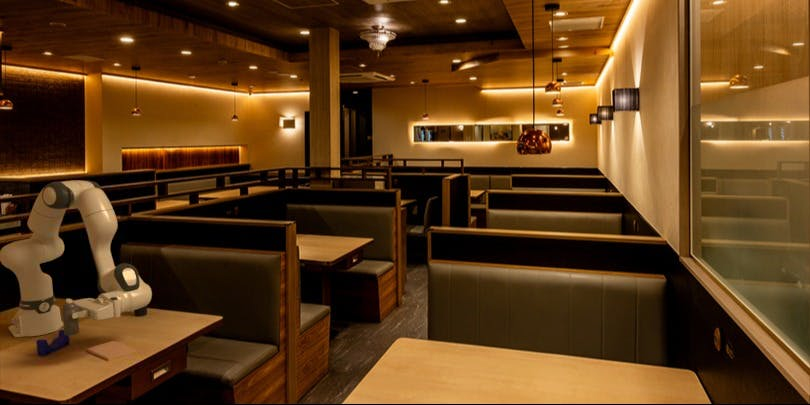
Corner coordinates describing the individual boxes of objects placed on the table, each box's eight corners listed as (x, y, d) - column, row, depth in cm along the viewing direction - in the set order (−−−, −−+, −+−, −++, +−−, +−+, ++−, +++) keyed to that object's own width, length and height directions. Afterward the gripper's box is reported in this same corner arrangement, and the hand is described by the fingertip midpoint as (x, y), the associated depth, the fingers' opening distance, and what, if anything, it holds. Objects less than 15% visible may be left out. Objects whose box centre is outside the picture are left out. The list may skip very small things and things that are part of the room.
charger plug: (61, 333, 197) (58, 299, 196) (75, 330, 201) (72, 296, 199) (67, 336, 194) (64, 301, 193) (81, 332, 198) (78, 298, 197)
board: (87, 351, 210) (86, 348, 210) (113, 343, 218) (113, 340, 218) (108, 360, 201) (108, 358, 201) (135, 351, 209) (135, 349, 209)
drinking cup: (144, 311, 258) (141, 268, 256) (153, 314, 254) (150, 270, 251) (128, 315, 252) (125, 272, 250) (137, 318, 247) (134, 274, 245)
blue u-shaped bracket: (59, 344, 218) (58, 329, 218) (69, 344, 217) (68, 329, 217) (34, 356, 207) (32, 340, 206) (44, 356, 206) (43, 341, 205)
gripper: (93, 292, 213) (53, 300, 202) (121, 300, 201) (80, 310, 190) (94, 308, 214) (55, 317, 203) (122, 317, 202) (81, 328, 191)
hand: (67, 314), depth 196 cm, fingers closed on charger plug, 5 cm apart
